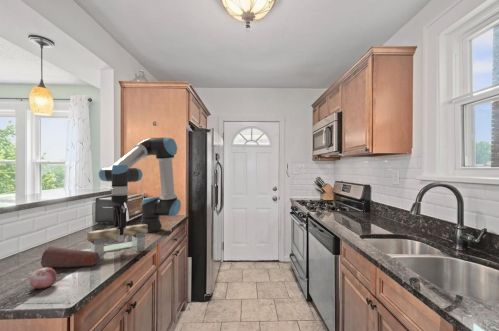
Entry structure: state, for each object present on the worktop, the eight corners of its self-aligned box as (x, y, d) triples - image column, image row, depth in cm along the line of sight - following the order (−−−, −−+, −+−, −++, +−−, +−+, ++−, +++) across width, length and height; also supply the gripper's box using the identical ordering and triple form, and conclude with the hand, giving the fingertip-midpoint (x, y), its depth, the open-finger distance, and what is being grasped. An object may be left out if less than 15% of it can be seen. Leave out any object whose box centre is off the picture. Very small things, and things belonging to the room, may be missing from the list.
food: (39, 271, 116) (40, 250, 117) (50, 264, 126) (51, 244, 126) (95, 268, 121) (95, 247, 121) (102, 261, 130) (102, 242, 130)
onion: (28, 293, 96) (29, 272, 96) (29, 286, 102) (30, 266, 102) (56, 288, 100) (57, 268, 100) (56, 281, 107) (56, 262, 107)
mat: (137, 241, 165) (137, 240, 165) (144, 245, 158) (144, 244, 158) (74, 252, 143) (74, 251, 143) (79, 256, 136) (79, 255, 136)
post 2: (139, 247, 153) (139, 230, 153) (144, 250, 148) (144, 232, 148) (131, 248, 150) (132, 231, 150) (137, 251, 145) (137, 233, 145)
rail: (144, 231, 154) (144, 223, 154) (147, 232, 151) (147, 225, 151) (87, 240, 134) (87, 231, 134) (89, 241, 131) (89, 233, 131)
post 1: (99, 254, 139) (99, 235, 139) (103, 258, 134) (103, 238, 134) (90, 256, 136) (90, 237, 136) (94, 260, 131) (94, 239, 131)
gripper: (106, 193, 146) (106, 238, 146) (117, 196, 134) (117, 245, 134) (121, 192, 151) (120, 236, 151) (133, 195, 139) (133, 242, 139)
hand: (119, 240), depth 142 cm, fingers closed on rail, 4 cm apart
